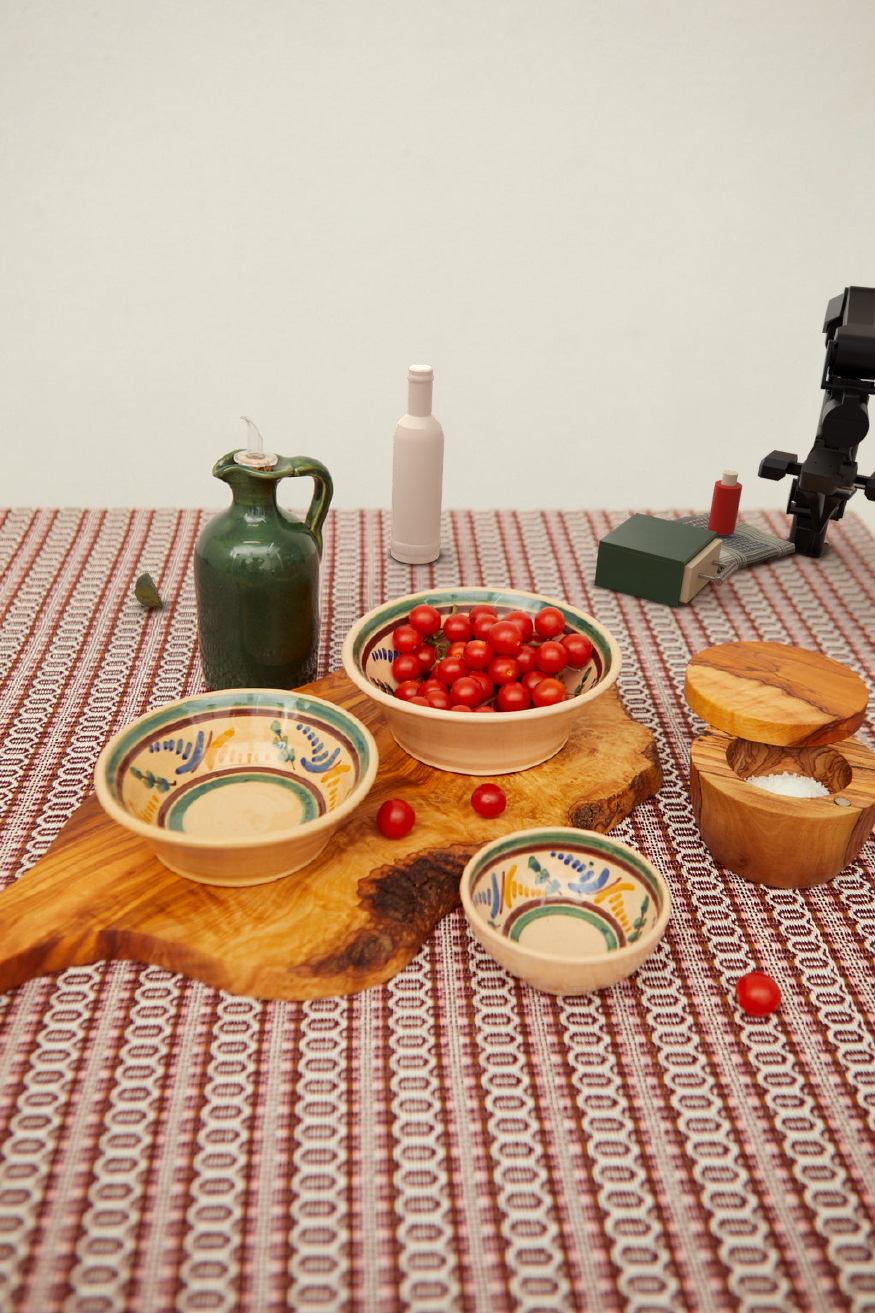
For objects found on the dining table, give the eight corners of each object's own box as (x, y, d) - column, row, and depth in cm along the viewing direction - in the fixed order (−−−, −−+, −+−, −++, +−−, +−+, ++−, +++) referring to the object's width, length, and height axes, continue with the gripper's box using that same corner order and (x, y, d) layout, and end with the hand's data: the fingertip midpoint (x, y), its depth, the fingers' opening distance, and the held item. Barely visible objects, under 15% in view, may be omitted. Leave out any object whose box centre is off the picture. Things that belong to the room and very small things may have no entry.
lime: (152, 596, 158) (149, 564, 156) (175, 606, 156) (172, 573, 154) (128, 607, 155) (124, 574, 153) (151, 616, 153) (148, 584, 150)
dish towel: (798, 554, 181) (802, 536, 180) (722, 576, 172) (726, 558, 171) (716, 518, 195) (718, 501, 193) (641, 536, 186) (644, 519, 184)
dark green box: (709, 575, 173) (717, 531, 169) (676, 607, 162) (684, 561, 158) (630, 555, 179) (636, 512, 175) (594, 585, 168) (599, 540, 164)
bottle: (379, 554, 175) (382, 366, 161) (412, 541, 180) (418, 357, 166) (417, 569, 170) (423, 376, 156) (449, 555, 176) (458, 367, 161)
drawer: (740, 579, 169) (747, 545, 167) (712, 610, 159) (718, 574, 157) (642, 554, 177) (647, 521, 174) (609, 582, 167) (613, 547, 164)
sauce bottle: (712, 522, 185) (722, 466, 180) (738, 528, 183) (748, 471, 178) (703, 530, 182) (713, 473, 177) (729, 536, 180) (739, 478, 175)
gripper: (755, 428, 148) (736, 535, 156) (898, 455, 140) (871, 567, 147) (779, 410, 157) (760, 512, 164) (915, 434, 148) (888, 541, 156)
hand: (817, 533), depth 158 cm, fingers closed
